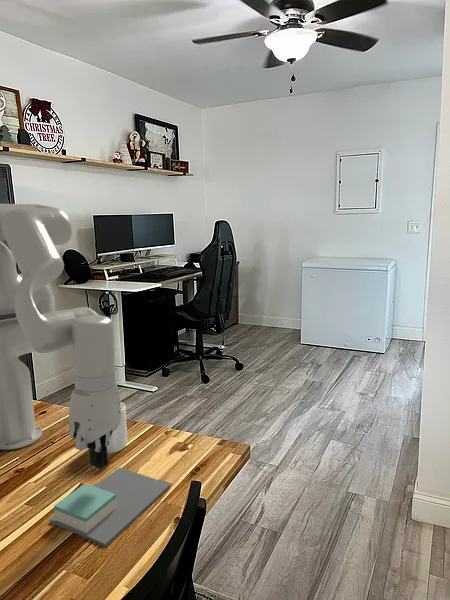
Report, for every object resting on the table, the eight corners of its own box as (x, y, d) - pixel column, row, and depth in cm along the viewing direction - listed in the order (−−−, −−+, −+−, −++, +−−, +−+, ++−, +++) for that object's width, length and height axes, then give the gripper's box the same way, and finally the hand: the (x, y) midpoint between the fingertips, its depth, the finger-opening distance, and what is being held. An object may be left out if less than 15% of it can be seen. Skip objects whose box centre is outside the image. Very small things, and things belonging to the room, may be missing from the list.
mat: (49, 522, 87) (49, 519, 87) (120, 469, 104) (119, 467, 104) (105, 546, 80) (105, 543, 80) (170, 486, 97) (170, 484, 97)
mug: (130, 459, 108) (128, 418, 106) (94, 465, 106) (91, 424, 104) (125, 435, 120) (123, 399, 118) (93, 440, 117) (90, 403, 115)
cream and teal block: (86, 496, 93) (55, 519, 86) (85, 483, 93) (54, 505, 86) (116, 507, 90) (86, 533, 83) (115, 494, 89) (85, 518, 82)
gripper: (107, 364, 96) (110, 443, 100) (50, 389, 83) (56, 478, 87) (135, 371, 92) (137, 452, 96) (80, 398, 79) (85, 491, 83)
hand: (99, 465), depth 92 cm, fingers closed
